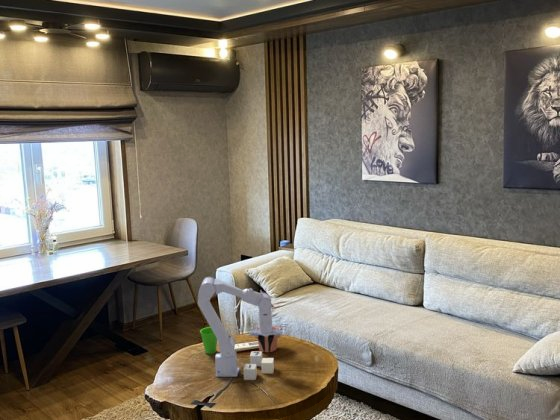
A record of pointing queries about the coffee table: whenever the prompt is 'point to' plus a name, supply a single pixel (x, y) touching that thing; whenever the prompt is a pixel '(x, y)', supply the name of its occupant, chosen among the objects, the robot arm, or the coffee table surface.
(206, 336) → the cup
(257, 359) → the white marked cube 7
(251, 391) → the coffee table surface
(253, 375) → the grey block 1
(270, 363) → the cream block
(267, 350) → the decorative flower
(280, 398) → the coffee table surface
